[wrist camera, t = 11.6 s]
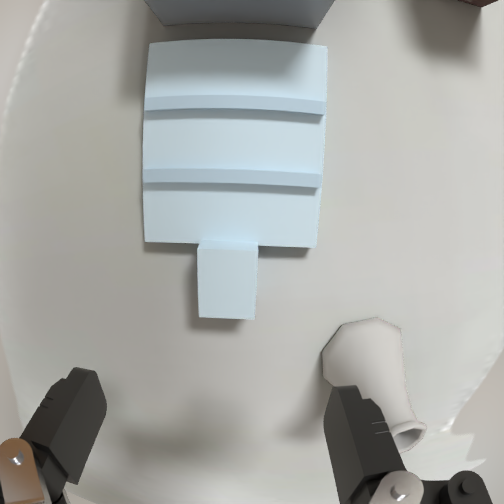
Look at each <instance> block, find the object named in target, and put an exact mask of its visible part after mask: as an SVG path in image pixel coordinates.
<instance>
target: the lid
mask: <svg viewBox="0 0 504 504" xmlns="http://www.w3.org/2000/svg"><path fill="white" fill-rule="evenodd" d="M327 48H328V47H327V46H320V45H313V44H305V43H296V42H286V41H273V40H256V39H196V40H179V41H167V42H157V43H150V44H149V53H148V63H147V74H146V87H145V100H144V124H143V212H144V234H145V242H168V243H198V244H199V246H198V248H197V275H198V307H199V317H207V318H228V319H255V306H256V288H257V269H258V246H283V247H309V248H316V243H317V234H318V224H319V213H320V202H321V190H322V177H323V162H324V146H325V127H326V103H327Z"/></svg>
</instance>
